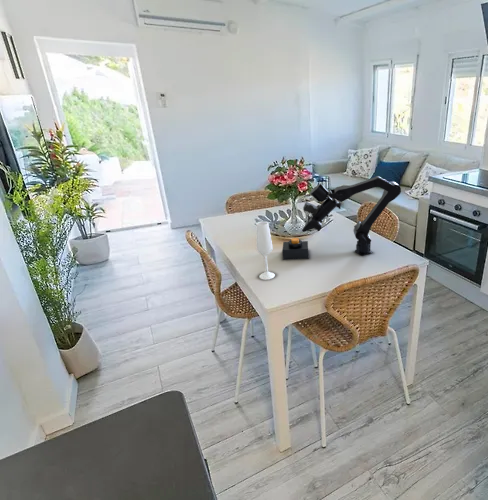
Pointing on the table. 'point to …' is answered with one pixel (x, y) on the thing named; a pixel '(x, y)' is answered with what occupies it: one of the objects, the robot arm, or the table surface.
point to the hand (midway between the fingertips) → (302, 231)
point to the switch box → (295, 250)
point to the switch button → (295, 240)
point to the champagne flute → (264, 246)
